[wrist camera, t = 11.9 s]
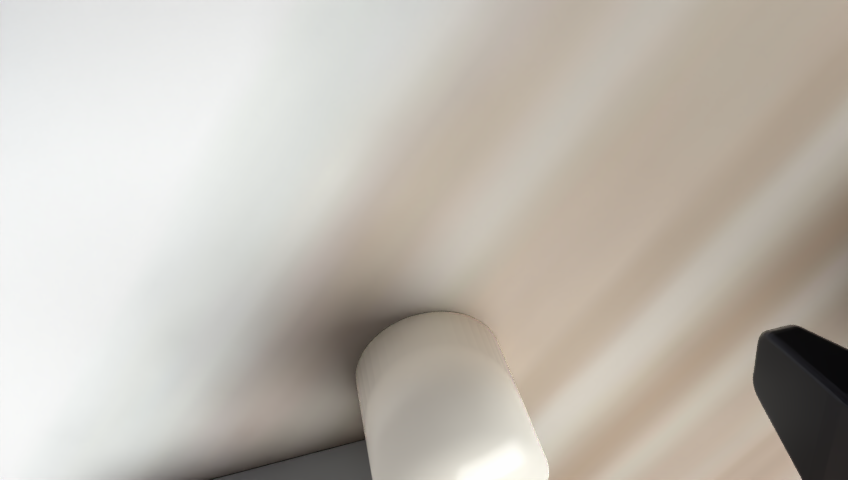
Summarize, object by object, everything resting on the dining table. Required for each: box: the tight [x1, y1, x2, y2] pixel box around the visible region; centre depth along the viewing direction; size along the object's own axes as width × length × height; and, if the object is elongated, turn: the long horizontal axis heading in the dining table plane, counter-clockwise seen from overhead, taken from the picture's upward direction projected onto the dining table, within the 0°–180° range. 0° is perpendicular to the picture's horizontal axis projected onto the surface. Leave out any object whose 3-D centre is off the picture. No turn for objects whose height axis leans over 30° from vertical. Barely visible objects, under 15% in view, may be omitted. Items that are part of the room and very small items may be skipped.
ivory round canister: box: [356, 311, 549, 480], centre depth 23 cm, size 5×5×5 cm
